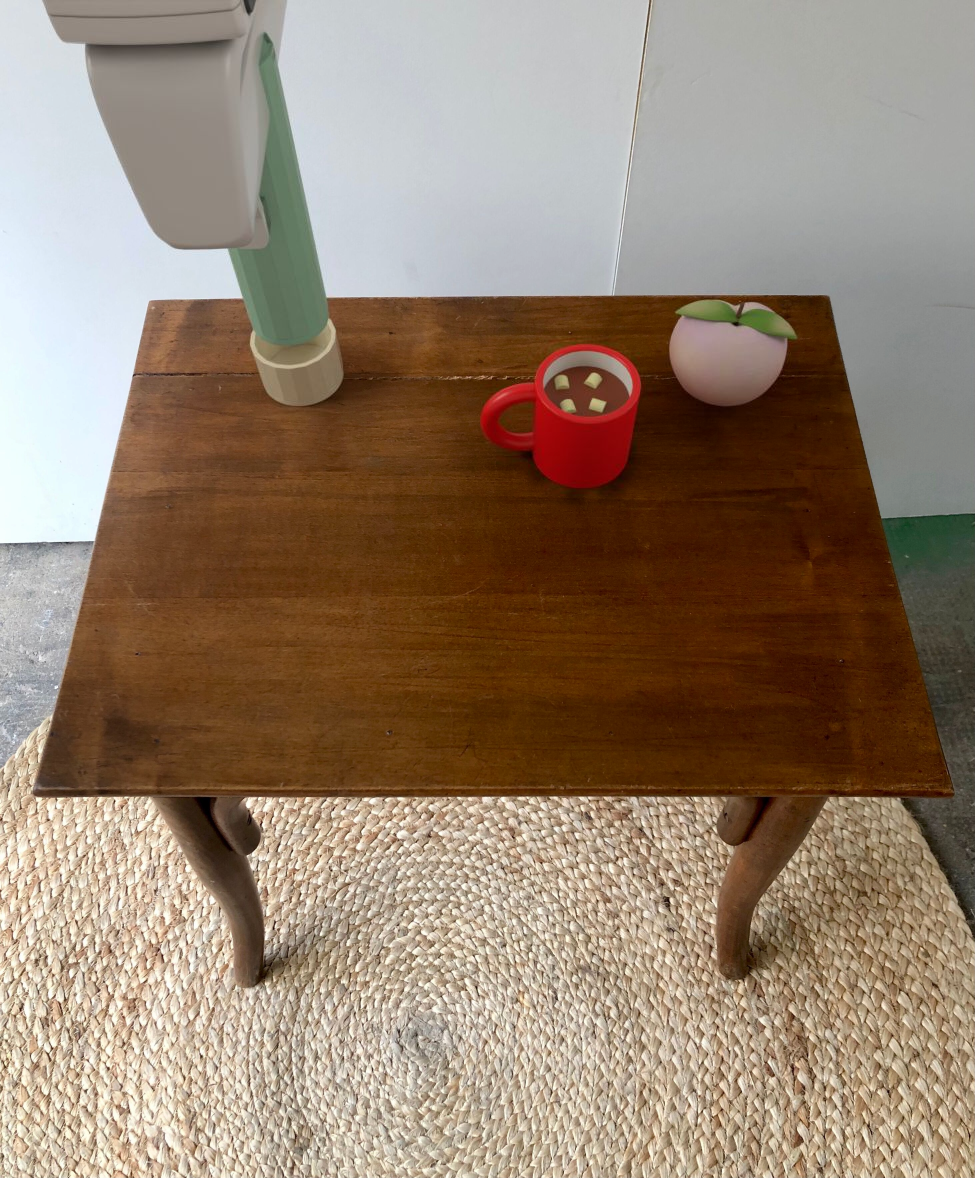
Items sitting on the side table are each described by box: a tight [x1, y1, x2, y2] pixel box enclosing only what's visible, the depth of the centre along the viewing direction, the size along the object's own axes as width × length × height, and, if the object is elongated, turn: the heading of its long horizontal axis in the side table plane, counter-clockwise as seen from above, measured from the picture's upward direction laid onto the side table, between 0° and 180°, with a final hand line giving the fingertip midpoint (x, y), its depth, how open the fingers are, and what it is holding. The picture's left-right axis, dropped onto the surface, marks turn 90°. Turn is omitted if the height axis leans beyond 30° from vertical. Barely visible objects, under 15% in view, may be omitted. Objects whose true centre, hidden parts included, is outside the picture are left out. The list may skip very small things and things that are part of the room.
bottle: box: [227, 32, 330, 346], centre depth 43 cm, size 4×4×19 cm
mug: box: [479, 343, 642, 489], centre depth 70 cm, size 8×12×8 cm, turn 95°
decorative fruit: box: [668, 299, 798, 407], centre depth 72 cm, size 9×8×10 cm
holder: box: [249, 318, 345, 407], centre depth 76 cm, size 7×7×4 cm
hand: (258, 201), depth 45 cm, fingers closed on bottle, 4 cm apart
